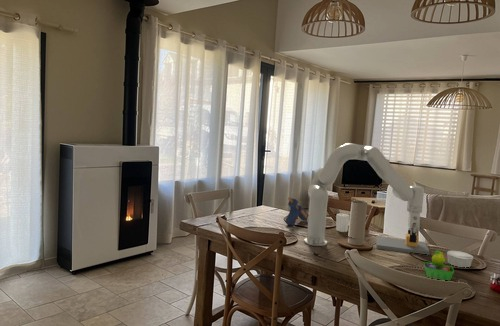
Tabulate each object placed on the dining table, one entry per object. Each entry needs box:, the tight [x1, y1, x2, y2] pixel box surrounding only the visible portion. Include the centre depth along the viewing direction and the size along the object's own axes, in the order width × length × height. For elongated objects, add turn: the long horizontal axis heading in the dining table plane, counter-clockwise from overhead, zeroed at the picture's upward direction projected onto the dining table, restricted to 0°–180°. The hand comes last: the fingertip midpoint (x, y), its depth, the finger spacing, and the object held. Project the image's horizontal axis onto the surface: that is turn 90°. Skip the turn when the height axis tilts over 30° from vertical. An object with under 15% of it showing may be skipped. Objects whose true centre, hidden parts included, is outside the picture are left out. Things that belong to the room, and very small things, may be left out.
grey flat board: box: [375, 235, 431, 256], centre depth 204 cm, size 18×26×2 cm
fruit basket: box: [423, 250, 455, 281], centre depth 163 cm, size 11×9×11 cm
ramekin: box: [446, 250, 474, 269], centre depth 181 cm, size 11×11×5 cm
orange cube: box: [405, 233, 419, 247], centre depth 202 cm, size 6×6×5 cm
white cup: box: [335, 213, 350, 233], centre depth 231 cm, size 8×8×10 cm
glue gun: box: [285, 197, 309, 227], centre depth 241 cm, size 6×31×15 cm
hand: (411, 239), depth 202 cm, fingers open, 9 cm apart
